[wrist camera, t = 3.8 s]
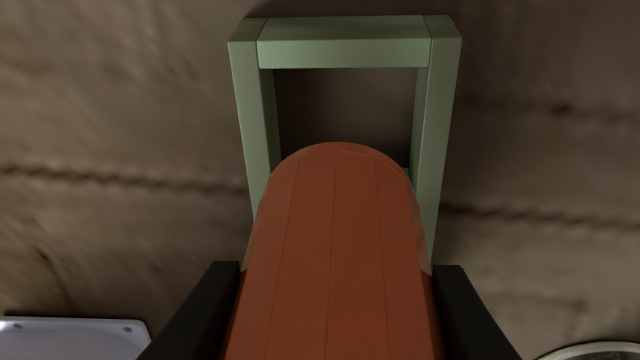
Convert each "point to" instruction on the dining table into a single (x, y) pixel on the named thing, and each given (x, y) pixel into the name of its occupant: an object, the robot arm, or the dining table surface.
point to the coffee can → (597, 351)
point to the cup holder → (349, 52)
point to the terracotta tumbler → (335, 265)
